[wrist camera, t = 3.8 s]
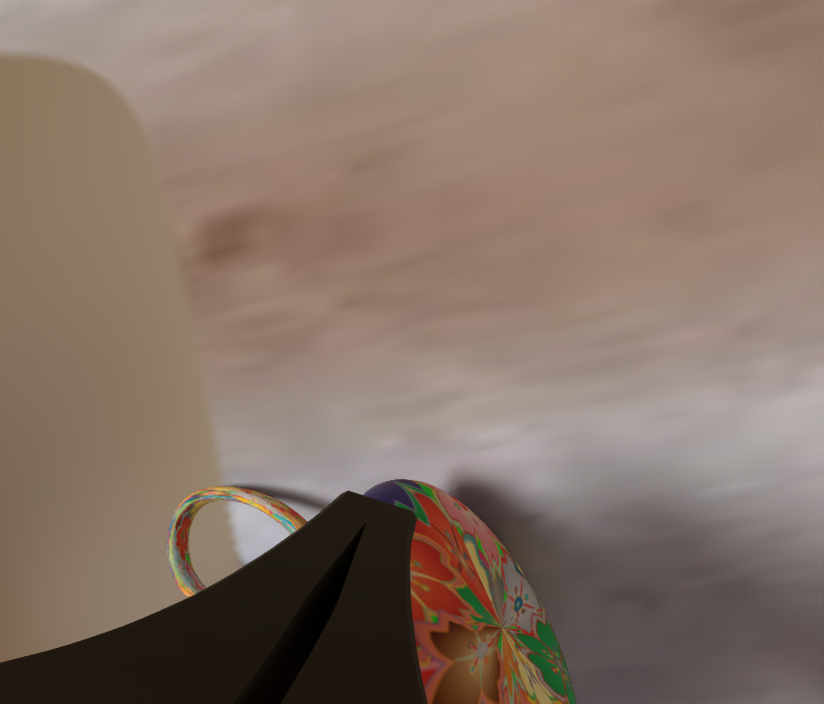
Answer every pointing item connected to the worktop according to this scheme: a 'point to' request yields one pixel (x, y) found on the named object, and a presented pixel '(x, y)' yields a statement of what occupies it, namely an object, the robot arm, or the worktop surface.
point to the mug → (439, 598)
